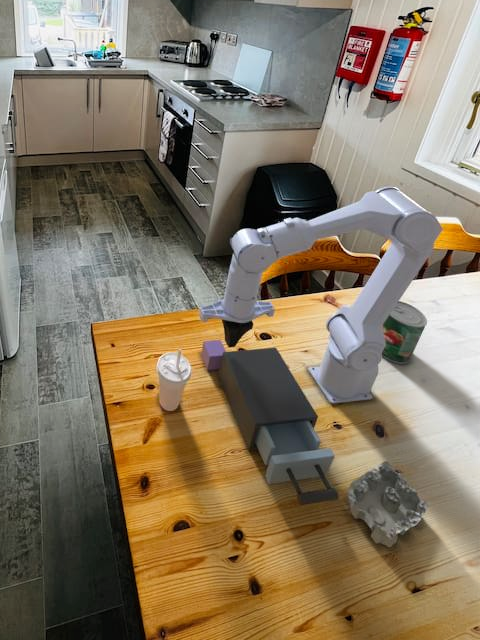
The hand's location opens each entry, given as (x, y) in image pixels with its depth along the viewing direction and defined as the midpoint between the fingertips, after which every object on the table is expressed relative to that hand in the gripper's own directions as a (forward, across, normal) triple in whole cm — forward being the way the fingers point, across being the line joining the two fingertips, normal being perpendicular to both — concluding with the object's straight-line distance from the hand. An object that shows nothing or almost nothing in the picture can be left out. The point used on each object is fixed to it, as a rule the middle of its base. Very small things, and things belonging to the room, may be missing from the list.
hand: (229, 343), depth 79 cm
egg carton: (+10, -16, +25) cm, 32 cm away
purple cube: (+10, +1, -4) cm, 10 cm away
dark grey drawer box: (+9, -5, +7) cm, 13 cm away
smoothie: (+10, +13, +4) cm, 16 cm away
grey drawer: (+9, -5, +16) cm, 19 cm away
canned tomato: (+10, -42, -2) cm, 43 cm away
